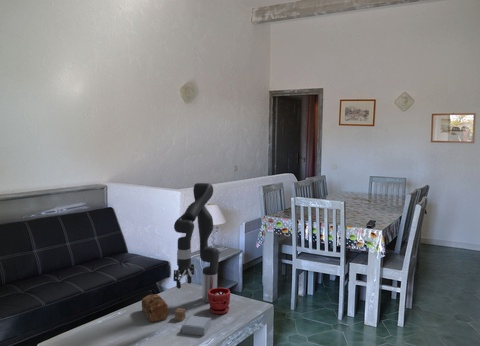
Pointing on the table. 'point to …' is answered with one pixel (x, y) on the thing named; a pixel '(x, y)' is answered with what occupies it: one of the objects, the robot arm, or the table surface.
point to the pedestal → (196, 325)
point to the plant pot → (219, 300)
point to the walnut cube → (180, 314)
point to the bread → (154, 308)
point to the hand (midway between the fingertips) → (184, 285)
